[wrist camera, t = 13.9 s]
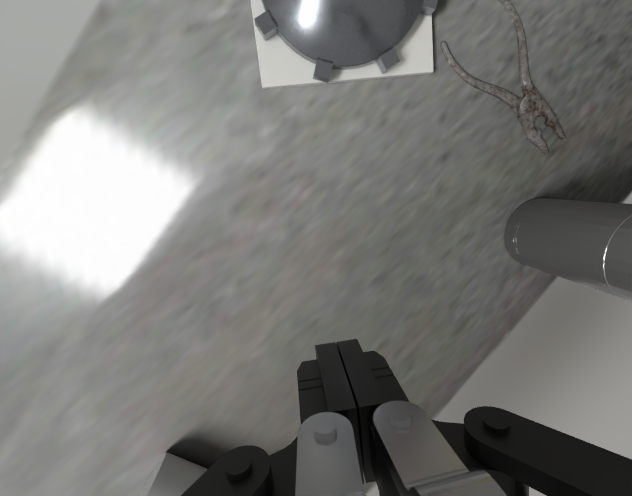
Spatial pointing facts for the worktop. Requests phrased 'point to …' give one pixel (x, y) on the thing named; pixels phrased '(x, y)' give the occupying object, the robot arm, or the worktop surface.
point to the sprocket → (342, 30)
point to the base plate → (293, 70)
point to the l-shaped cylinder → (172, 476)
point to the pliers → (531, 99)
